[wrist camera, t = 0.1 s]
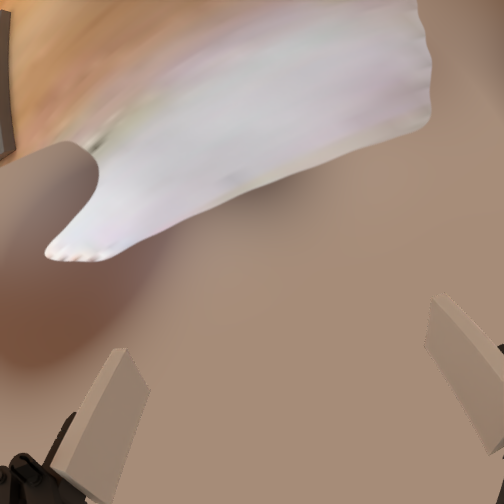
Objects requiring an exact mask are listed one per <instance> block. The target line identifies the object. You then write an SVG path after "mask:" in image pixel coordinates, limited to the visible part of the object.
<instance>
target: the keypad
mask: <svg viewBox="0 0 504 504" xmlns="http://www.w3.org/2000/svg"><path fill="white" fill-rule="evenodd" d="M10 16H11V12H8V11H5V10H2V9H1V10H0V160H1V159H3V158H4V157H6V156H7V155H9V154H10V153H12V152H13V151H15V150H16V147H15V140H14V134H13V126H12V118H11V108H10V96H9V77H8V46H9V27H10Z"/></svg>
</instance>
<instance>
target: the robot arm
mask: <svg viewBox="0 0 504 504" xmlns="http://www.w3.org/2000/svg"><path fill="white" fill-rule="evenodd" d="M424 347H425V349H426V350H427V352H428V353H429V355H430V356H431V358H432V359H433V361H434V362H435V364H436V366H437V367H438V369H439V370H440V372H441V373H442V375H443V377H444V378H445V380H446V381H447V383H448V385H449V386H450V388H451V389H452V391H453V393H454V394H455V396H456V398H457V399H458V401H459V403H460V404H461V406H462V408H463V410H464V411H465V413H466V415H467V417H468V418H469V420H470V422H471V424H472V426H473V427H474V429H475V431H476V433H477V435H478V437H479V439H480V440H481V442H482V444H483V446H484V448H485V450H486V452H487V454H488V456H490V455H491V454H493V453H495V452H496V451H498V450H499V449H501V448H503V447H504V344H502V345H499V346H496V345H495V344H494V343H493V342H492V341H491V340H490V339H489V337H488V336H487V335H486V334H485V333H484V332H483V331H482V330H481V329H480V328H479V327H478V326H477V324H476V323H474V321H473V320H472V319H471V318H470V317H469V316H468V315H467V314H466V313H465V312H464V311H463V310H462V309H461V308H460V307H459V306H458V305H457V304H456V303H455V302H454V301H453V300H452V299H451V298H450V297H449V296H448V295H447V294H446V293H443V294H440V295H436V296H433V297H431V303H430V312H429V320H428V326H427V333H426V339H425V346H424ZM149 394H150V389H149V388H148V386H147V384H146V382H145V381H144V379H143V377H142V375H141V373H140V372H139V370H138V368H137V366H136V364H135V362H134V361H133V359H132V357H131V355H130V353H129V351H128V349H127V348H124V349H123V348H122V349H113V350H112V352H111V354H110V356H109V357H108V359H107V360H106V362H105V364H104V365H103V367H102V369H101V371H100V372H99V374H98V376H97V378H96V379H95V381H94V383H93V384H92V386H91V388H90V390H89V392H88V393H87V395H86V397H85V399H84V401H83V402H82V404H81V406H80V408H79V410H78V412H73V413H72V414H71V415H70V416H69V417H68V418H67V419H66V421H65V423H64V424H63V426H62V428H61V431H60V432H59V434H58V435H57V439H55V441H54V443H53V446H52V447H51V449H50V451H49V453H48V455H47V457H46V459H45V461H44V463H43V465H42V466H41V465H39V464H38V463H37V462H36V461H35V460H34V459H33V458H32V457H31V456H30V455H29V454H27V453H20V454H18V455H16V456H14V458H13V459H12V460H11V462H10V464H9V468H8V467H6V466H0V504H87V502H85V498H86V496H87V497H88V498H90V499H91V500H92V501H94V502H95V503H99V504H112V502H113V499H114V495H115V492H116V489H117V486H118V483H119V480H120V477H121V474H122V470H123V467H124V464H125V461H126V458H127V455H128V453H129V450H130V447H131V444H132V441H133V438H134V435H135V432H136V430H137V427H138V424H139V421H140V418H141V416H142V413H143V410H144V407H145V405H146V402H147V399H148V396H149ZM503 459H504V456H503ZM496 504H504V480H503V483H502V487H501V490H500V493H499V496H498V500H497V503H496Z"/></svg>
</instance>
